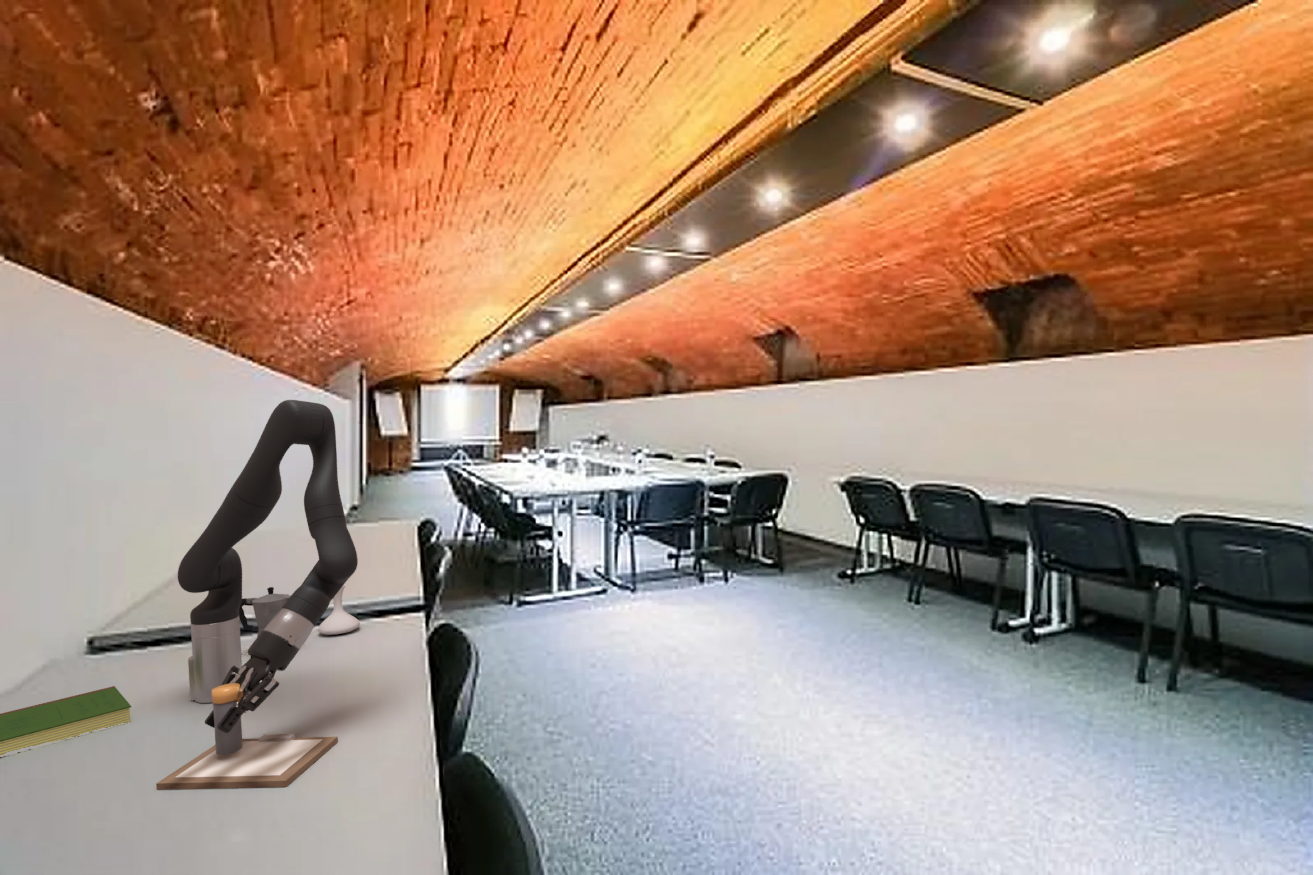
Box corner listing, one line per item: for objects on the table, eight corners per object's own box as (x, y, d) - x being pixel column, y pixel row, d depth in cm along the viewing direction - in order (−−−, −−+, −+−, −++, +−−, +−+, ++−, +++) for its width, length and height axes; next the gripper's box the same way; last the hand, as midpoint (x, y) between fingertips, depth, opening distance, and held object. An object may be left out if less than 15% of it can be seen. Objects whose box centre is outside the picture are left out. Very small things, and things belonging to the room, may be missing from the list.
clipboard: (156, 789, 112) (155, 778, 112) (223, 744, 127) (223, 735, 127) (286, 787, 110) (285, 775, 110) (337, 741, 126) (337, 732, 126)
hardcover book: (115, 702, 153) (114, 686, 153) (132, 724, 141) (131, 706, 141) (-44, 743, 135) (-45, 724, 135) (-41, 772, 122) (-43, 751, 122)
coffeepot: (305, 646, 189) (302, 581, 189) (295, 656, 180) (291, 588, 180) (244, 652, 186) (240, 586, 186) (230, 663, 177) (226, 594, 176)
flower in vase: (349, 637, 196) (345, 550, 196) (310, 639, 196) (305, 552, 196) (369, 624, 209) (365, 543, 209) (332, 626, 209) (328, 544, 209)
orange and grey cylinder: (209, 755, 118) (205, 692, 118) (226, 744, 122) (222, 683, 122) (232, 755, 118) (229, 691, 118) (248, 743, 122) (245, 682, 122)
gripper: (247, 624, 130) (178, 711, 120) (287, 633, 122) (217, 727, 112) (277, 644, 135) (213, 729, 125) (317, 654, 127) (253, 745, 117)
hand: (216, 727), depth 118 cm, fingers closed on orange and grey cylinder, 4 cm apart
